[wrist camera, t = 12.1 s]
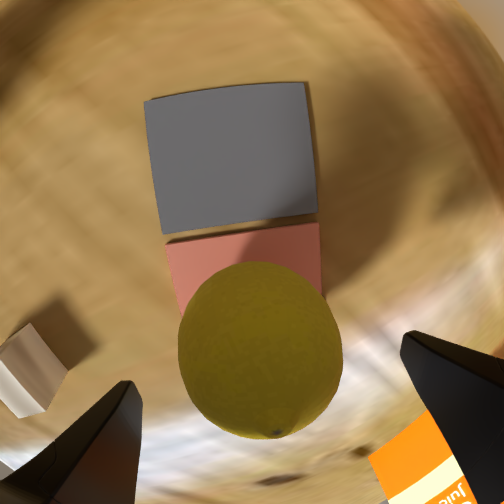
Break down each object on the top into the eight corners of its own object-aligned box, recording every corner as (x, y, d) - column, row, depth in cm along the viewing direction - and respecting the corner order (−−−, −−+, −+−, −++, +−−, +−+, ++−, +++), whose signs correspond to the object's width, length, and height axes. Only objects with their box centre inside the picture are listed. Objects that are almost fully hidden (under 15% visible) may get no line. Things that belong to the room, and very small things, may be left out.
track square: (163, 232, 12) (162, 234, 12) (145, 103, 11) (143, 101, 10) (315, 211, 13) (318, 212, 13) (301, 84, 11) (303, 82, 11)
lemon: (271, 215, 12) (349, 296, 5) (320, 309, 14) (395, 427, 7) (165, 274, 13) (114, 405, 5) (226, 357, 14) (237, 491, 7)
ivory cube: (40, 382, 15) (18, 418, 11) (6, 339, 13) (-22, 371, 9) (68, 370, 14) (46, 411, 11) (30, 321, 13) (-2, 357, 9)
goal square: (192, 350, 14) (192, 353, 14) (166, 243, 13) (164, 245, 12) (320, 330, 15) (321, 332, 15) (316, 221, 13) (318, 223, 13)
